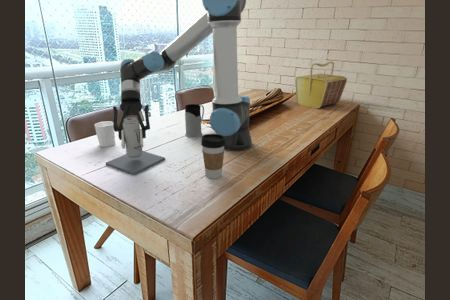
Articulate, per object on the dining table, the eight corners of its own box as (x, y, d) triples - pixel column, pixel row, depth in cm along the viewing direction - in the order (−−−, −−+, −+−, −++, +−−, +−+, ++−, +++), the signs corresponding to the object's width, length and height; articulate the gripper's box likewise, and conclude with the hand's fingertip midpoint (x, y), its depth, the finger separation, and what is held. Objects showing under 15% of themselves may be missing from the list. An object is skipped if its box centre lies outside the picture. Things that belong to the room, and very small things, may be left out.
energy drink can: (138, 159, 104) (134, 121, 98) (124, 157, 105) (118, 120, 99) (145, 153, 110) (141, 117, 104) (131, 151, 111) (127, 116, 105)
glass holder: (181, 135, 137) (180, 106, 131) (197, 128, 149) (196, 101, 143) (196, 138, 133) (195, 109, 127) (210, 130, 145) (210, 102, 139)
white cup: (110, 148, 121) (106, 127, 117) (94, 146, 123) (90, 125, 119) (120, 142, 128) (116, 121, 125) (105, 140, 130) (101, 120, 126)
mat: (165, 159, 111) (164, 157, 110) (134, 175, 98) (133, 173, 98) (137, 151, 118) (137, 149, 118) (106, 164, 106) (105, 162, 106)
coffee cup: (202, 170, 103) (201, 132, 97) (224, 169, 103) (224, 132, 98) (202, 181, 95) (201, 141, 89) (226, 180, 96) (226, 140, 90)
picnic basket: (313, 98, 220) (318, 60, 209) (343, 104, 202) (351, 62, 191) (291, 104, 203) (295, 62, 191) (322, 111, 185) (329, 65, 173)
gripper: (155, 98, 116) (159, 148, 107) (108, 100, 111) (108, 152, 103) (154, 88, 109) (157, 140, 101) (103, 89, 105) (103, 144, 96)
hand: (132, 146), depth 102 cm, fingers closed on energy drink can, 6 cm apart
